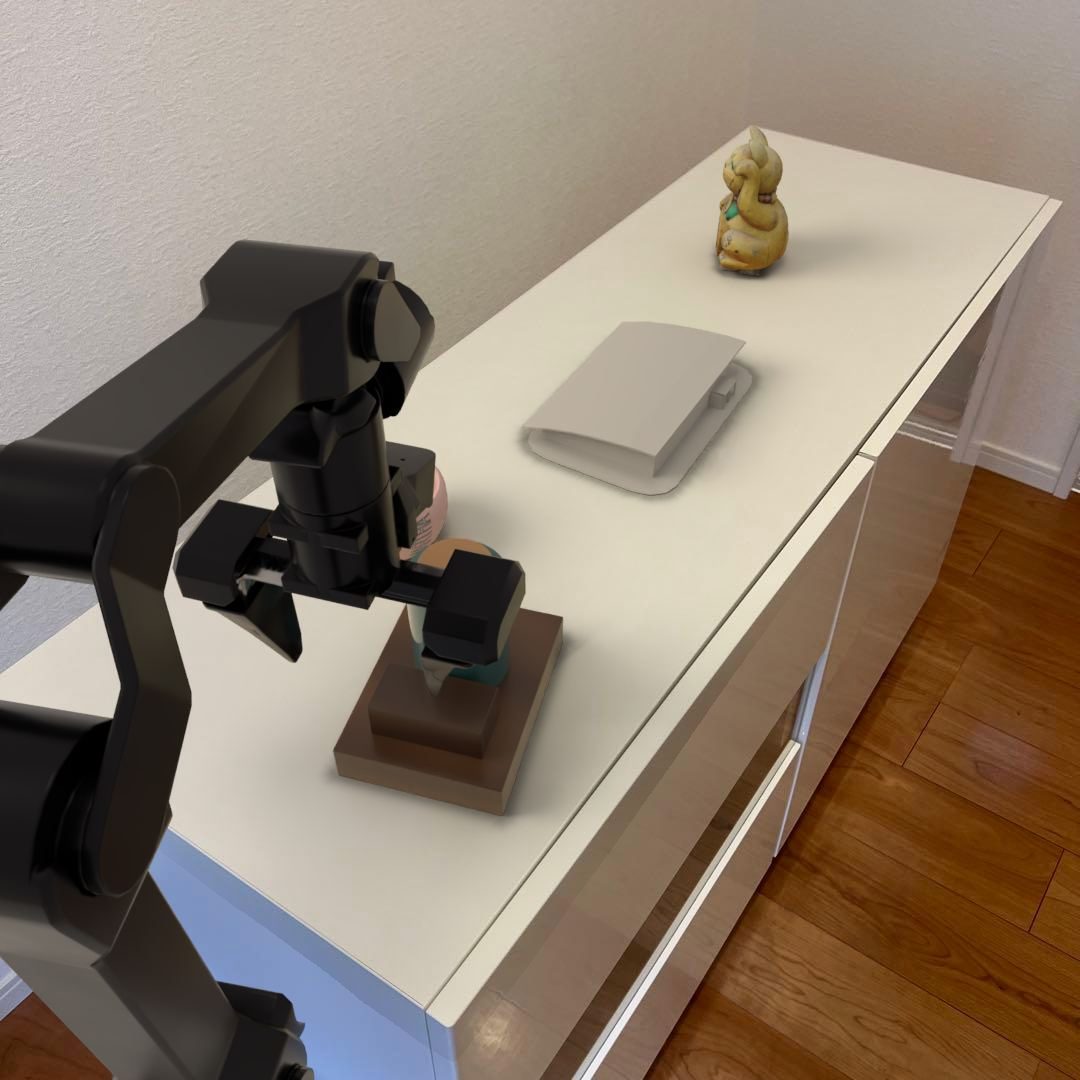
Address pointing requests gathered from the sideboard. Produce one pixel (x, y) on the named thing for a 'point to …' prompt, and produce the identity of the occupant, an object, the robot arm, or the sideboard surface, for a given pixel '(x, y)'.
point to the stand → (450, 720)
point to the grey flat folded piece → (642, 405)
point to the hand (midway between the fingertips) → (366, 673)
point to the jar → (436, 557)
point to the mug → (430, 519)
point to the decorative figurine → (752, 209)
